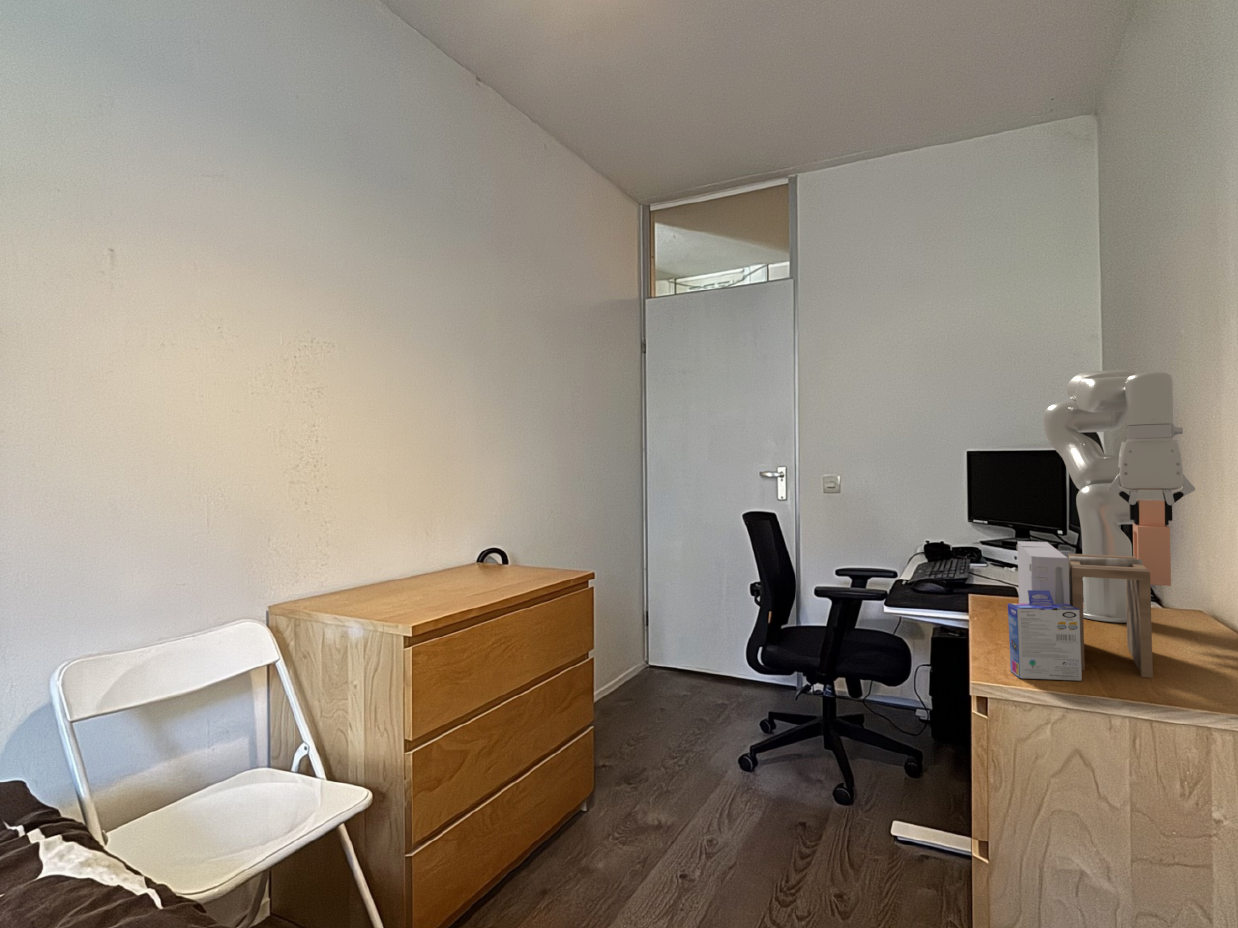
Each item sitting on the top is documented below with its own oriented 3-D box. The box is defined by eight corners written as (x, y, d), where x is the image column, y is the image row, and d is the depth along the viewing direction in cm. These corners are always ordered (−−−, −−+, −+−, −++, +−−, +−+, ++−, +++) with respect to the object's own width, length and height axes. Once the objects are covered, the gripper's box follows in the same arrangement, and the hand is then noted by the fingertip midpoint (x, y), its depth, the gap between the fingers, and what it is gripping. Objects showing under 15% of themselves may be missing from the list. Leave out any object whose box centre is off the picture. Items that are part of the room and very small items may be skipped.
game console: (1033, 666, 121) (1030, 556, 121) (1018, 632, 145) (1016, 541, 146) (1071, 670, 118) (1068, 558, 119) (1049, 634, 143) (1047, 542, 143)
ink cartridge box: (1069, 672, 117) (1067, 589, 117) (1084, 682, 112) (1082, 595, 112) (1007, 669, 119) (1005, 588, 119) (1019, 679, 114) (1017, 594, 114)
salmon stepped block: (1133, 576, 141) (1132, 498, 141) (1164, 578, 138) (1162, 499, 138) (1138, 583, 134) (1137, 501, 133) (1170, 585, 131) (1169, 502, 131)
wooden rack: (1069, 640, 138) (1067, 549, 138) (1136, 647, 132) (1134, 552, 132) (1074, 668, 119) (1071, 563, 119) (1152, 677, 113) (1150, 567, 113)
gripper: (1199, 432, 134) (1200, 523, 134) (1097, 436, 143) (1098, 521, 143) (1207, 432, 128) (1208, 527, 128) (1100, 435, 137) (1101, 524, 137)
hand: (1150, 523), depth 136 cm, fingers closed on salmon stepped block, 4 cm apart
